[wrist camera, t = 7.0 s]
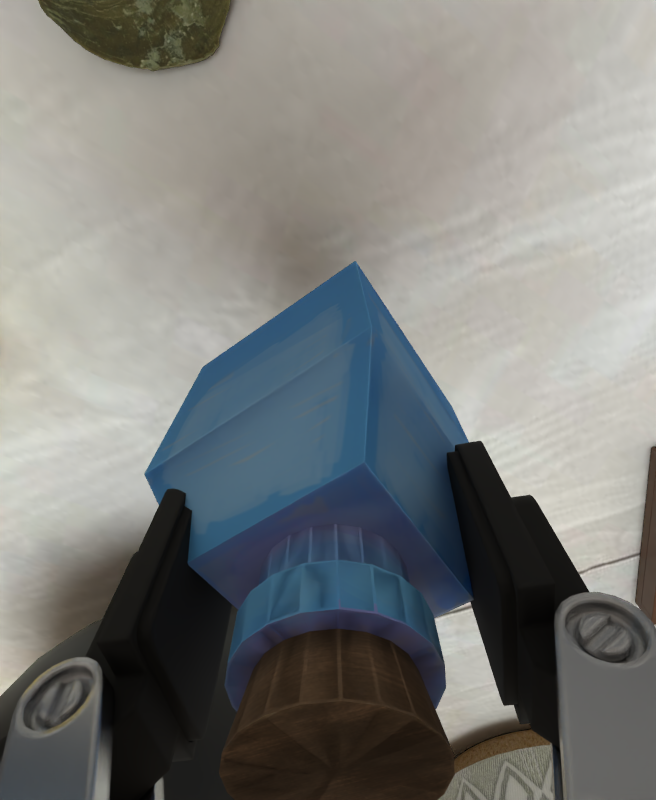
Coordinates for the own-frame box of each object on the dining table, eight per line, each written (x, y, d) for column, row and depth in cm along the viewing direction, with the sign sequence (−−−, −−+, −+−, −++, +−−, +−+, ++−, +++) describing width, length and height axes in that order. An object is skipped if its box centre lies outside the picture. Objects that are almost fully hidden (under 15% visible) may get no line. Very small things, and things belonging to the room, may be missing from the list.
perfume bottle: (355, 260, 16) (422, 524, 5) (451, 406, 18) (640, 802, 7) (202, 366, 17) (-2, 741, 6) (309, 488, 19) (289, 912, 9)
